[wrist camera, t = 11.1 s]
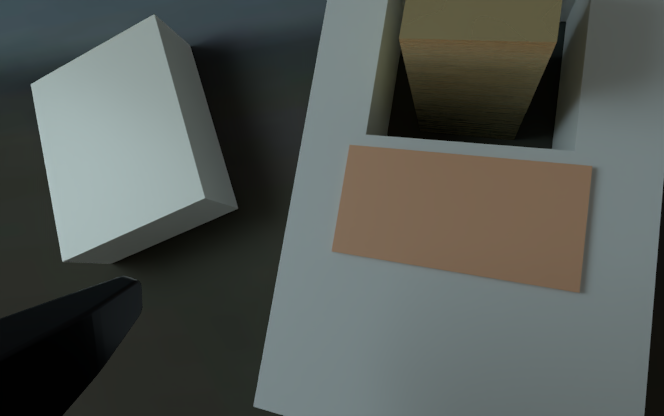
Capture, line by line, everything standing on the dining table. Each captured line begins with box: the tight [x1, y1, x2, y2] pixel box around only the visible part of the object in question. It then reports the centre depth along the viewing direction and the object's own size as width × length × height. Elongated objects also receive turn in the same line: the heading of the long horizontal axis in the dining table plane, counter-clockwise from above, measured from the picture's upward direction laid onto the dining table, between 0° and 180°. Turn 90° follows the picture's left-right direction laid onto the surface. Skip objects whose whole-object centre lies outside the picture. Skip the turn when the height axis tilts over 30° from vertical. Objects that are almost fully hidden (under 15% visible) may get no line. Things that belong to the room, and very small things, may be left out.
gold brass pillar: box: [399, 0, 562, 140], centre depth 15 cm, size 4×4×8 cm
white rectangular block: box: [31, 14, 238, 264], centre depth 22 cm, size 10×8×3 cm
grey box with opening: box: [254, 0, 664, 416], centre depth 17 cm, size 20×12×4 cm, turn 170°
